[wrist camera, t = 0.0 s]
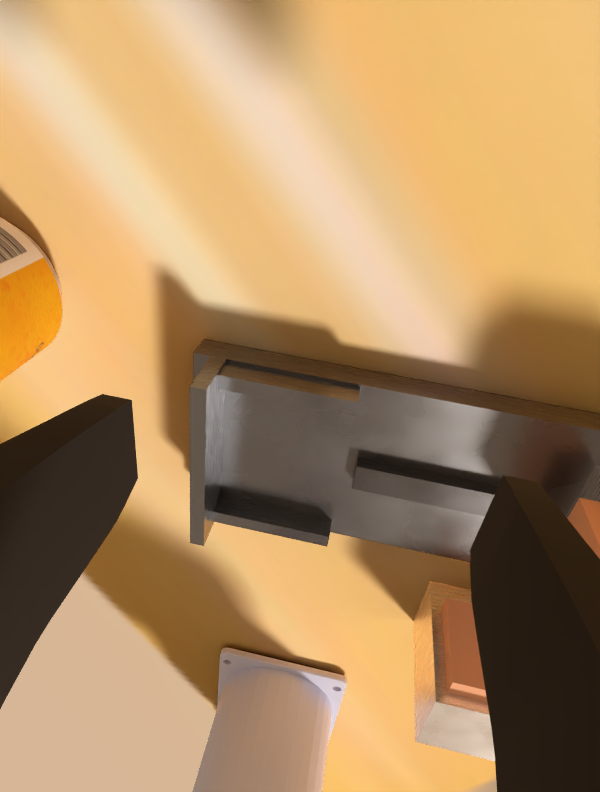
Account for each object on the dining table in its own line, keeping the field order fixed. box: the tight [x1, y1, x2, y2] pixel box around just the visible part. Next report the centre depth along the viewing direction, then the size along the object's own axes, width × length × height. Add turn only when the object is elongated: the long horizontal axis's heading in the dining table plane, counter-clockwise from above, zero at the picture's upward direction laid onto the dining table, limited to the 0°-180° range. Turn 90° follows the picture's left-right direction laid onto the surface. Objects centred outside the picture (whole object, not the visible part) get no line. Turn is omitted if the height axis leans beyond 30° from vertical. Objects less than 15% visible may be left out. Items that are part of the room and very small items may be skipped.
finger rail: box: [190, 339, 600, 562], centre depth 19 cm, size 21×8×7 cm, turn 83°
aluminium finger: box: [414, 581, 495, 761], centre depth 24 cm, size 4×5×6 cm
